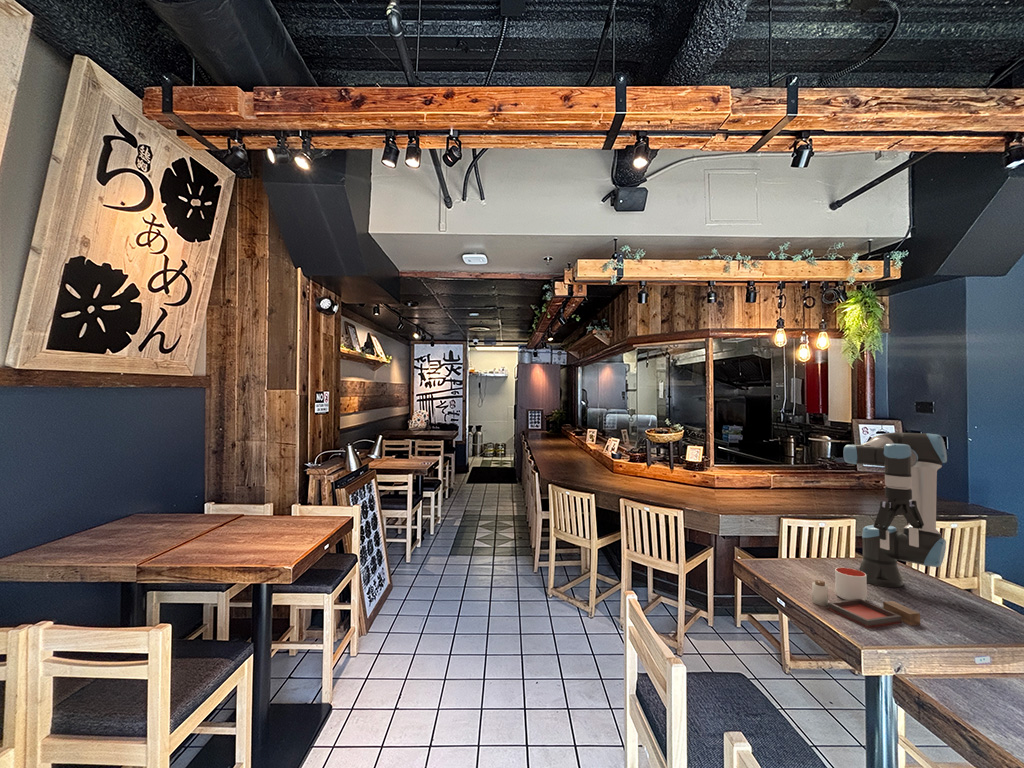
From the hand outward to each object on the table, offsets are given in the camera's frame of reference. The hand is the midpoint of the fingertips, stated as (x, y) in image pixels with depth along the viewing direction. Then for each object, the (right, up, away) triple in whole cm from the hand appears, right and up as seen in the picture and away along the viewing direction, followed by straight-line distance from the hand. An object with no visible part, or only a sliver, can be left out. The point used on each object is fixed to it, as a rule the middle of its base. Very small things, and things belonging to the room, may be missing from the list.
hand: (899, 547), depth 168 cm
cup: (-6, -26, +16) cm, 31 cm away
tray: (-12, -25, +1) cm, 28 cm away
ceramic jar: (-21, -25, +11) cm, 34 cm away
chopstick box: (0, -25, -1) cm, 25 cm away
